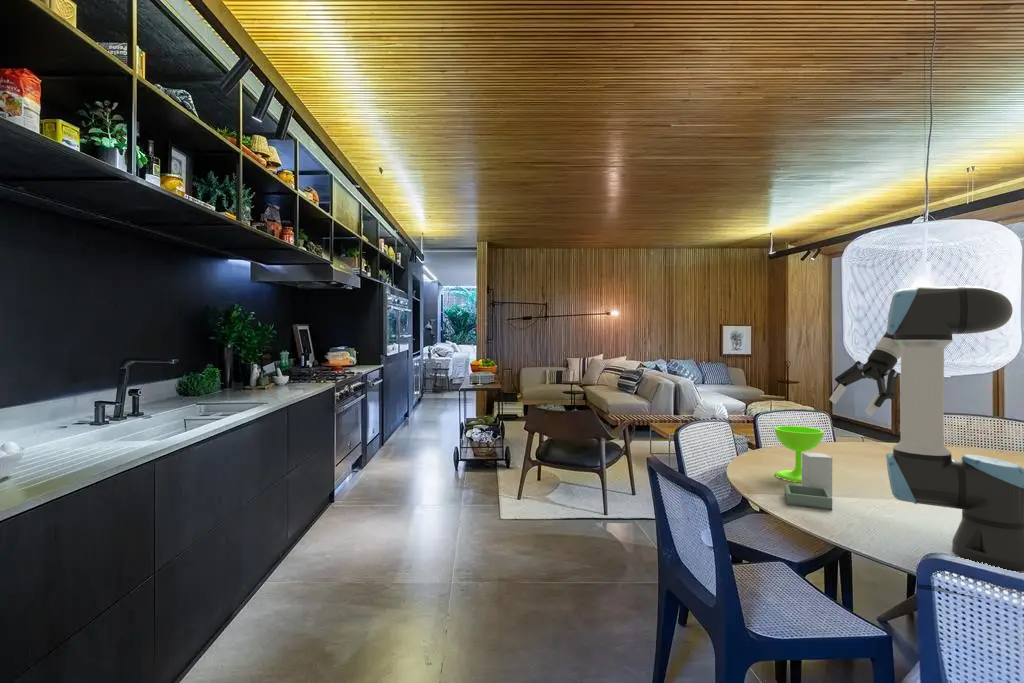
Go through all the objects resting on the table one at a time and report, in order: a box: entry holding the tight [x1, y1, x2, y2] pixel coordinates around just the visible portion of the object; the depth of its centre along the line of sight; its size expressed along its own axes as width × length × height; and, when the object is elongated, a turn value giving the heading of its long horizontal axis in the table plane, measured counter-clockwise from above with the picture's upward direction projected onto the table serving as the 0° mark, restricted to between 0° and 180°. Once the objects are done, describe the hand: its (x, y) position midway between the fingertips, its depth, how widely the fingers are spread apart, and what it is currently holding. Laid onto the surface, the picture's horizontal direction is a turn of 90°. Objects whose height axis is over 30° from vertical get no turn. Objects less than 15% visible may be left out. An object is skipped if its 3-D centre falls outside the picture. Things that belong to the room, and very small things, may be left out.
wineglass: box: [774, 425, 825, 482], centre depth 197 cm, size 16×16×18 cm
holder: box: [784, 483, 833, 511], centre depth 167 cm, size 12×12×4 cm
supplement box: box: [801, 452, 833, 496], centre depth 179 cm, size 7×7×13 cm
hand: (849, 407), depth 174 cm, fingers open, 13 cm apart
